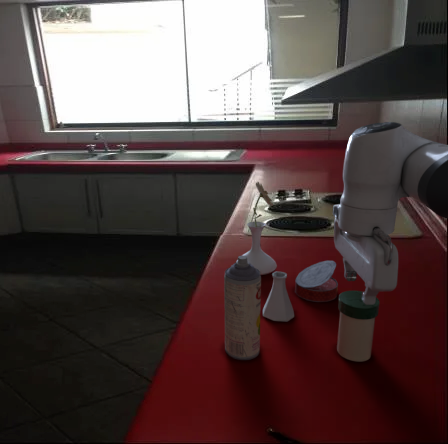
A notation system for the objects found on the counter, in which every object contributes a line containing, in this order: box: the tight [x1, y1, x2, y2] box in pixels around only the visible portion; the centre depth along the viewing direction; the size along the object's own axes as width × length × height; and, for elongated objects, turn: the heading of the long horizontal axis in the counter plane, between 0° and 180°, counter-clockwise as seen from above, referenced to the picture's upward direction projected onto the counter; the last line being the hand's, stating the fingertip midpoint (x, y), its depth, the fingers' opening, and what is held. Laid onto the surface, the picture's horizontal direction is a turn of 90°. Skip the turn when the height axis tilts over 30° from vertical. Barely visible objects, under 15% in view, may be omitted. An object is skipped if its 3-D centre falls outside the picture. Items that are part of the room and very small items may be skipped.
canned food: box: [294, 260, 339, 303], centre depth 103 cm, size 11×10×10 cm
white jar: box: [336, 311, 376, 363], centre depth 79 cm, size 6×6×11 cm
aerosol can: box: [223, 255, 262, 361], centre depth 80 cm, size 7×7×20 cm
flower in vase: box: [235, 181, 278, 276], centre depth 115 cm, size 13×11×25 cm
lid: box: [337, 290, 381, 320], centre depth 77 cm, size 7×7×2 cm
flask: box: [262, 270, 295, 322], centre depth 94 cm, size 7×7×10 cm
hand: (358, 290), depth 77 cm, fingers open, 8 cm apart
